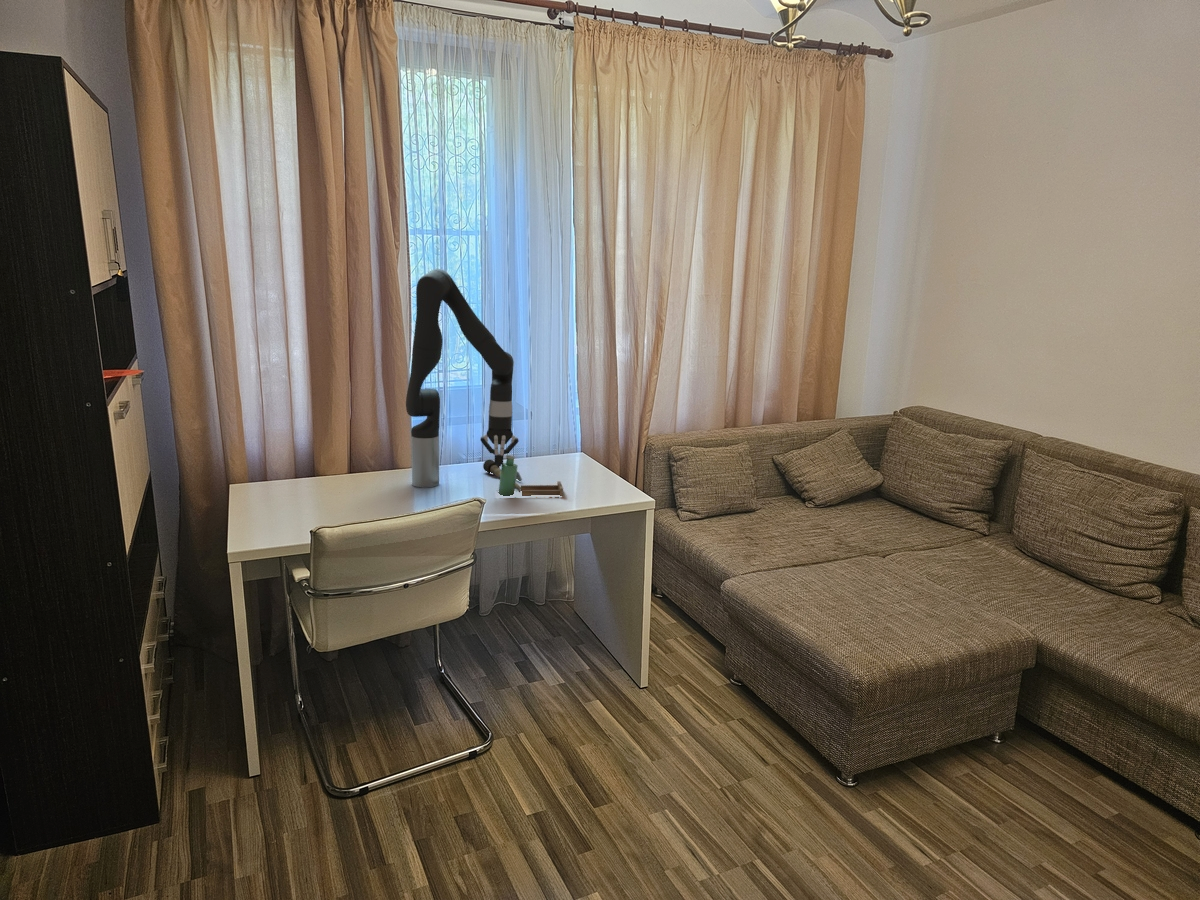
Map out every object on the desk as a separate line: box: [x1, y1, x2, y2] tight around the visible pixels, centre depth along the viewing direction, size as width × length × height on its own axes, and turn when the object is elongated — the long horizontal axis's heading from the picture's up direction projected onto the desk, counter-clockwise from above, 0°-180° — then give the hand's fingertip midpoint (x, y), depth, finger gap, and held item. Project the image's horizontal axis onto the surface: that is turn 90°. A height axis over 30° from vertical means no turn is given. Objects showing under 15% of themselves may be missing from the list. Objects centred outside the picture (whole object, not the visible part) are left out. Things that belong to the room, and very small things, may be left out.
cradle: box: [520, 481, 564, 497], centre depth 273 cm, size 9×22×4 cm, turn 99°
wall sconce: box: [482, 459, 523, 490], centre depth 289 cm, size 5×6×30 cm
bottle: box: [498, 454, 518, 496], centre depth 271 cm, size 5×5×13 cm
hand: (498, 465), depth 269 cm, fingers closed
